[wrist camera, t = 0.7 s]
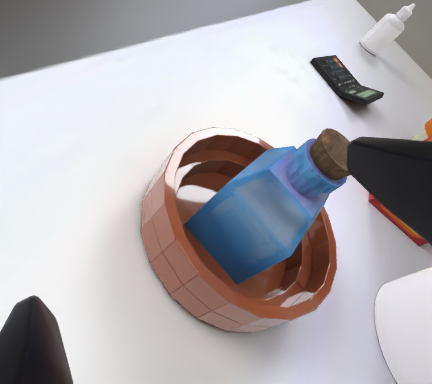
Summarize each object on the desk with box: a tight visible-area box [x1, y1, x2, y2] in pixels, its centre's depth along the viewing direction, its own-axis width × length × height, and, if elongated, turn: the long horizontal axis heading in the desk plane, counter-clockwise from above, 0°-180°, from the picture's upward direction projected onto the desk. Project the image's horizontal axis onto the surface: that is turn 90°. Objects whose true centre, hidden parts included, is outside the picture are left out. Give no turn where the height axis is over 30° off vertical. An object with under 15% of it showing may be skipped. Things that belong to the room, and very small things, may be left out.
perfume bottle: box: [184, 129, 351, 285], centre depth 24 cm, size 6×6×12 cm
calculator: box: [310, 55, 384, 106], centre depth 59 cm, size 9×12×3 cm
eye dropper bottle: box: [360, 3, 415, 55], centre depth 76 cm, size 4×6×12 cm
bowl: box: [141, 127, 337, 332], centre depth 27 cm, size 16×16×4 cm
